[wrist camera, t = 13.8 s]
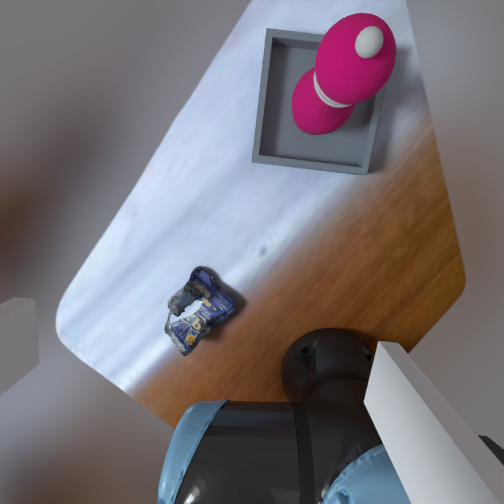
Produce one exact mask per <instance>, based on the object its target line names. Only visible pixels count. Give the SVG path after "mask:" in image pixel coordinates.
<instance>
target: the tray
mask: <svg viewBox="0 0 504 504" xmlns="http://www.w3.org/2000/svg"><path fill="white" fill-rule="evenodd" d="M324 36H325V35H318V34H310V33H302V32H294V31H285V30H277V29H269V28H267V30H266V39H265V48H264V57H263V66H262V75H261V84H260V92H259V101H258V110H257V119H256V128H255V137H254V146H253V155H252V162H254V163H262V164H271V165H279V166H287V167H296V168H304V169H312V170H320V171H329V172H337V173H345V174H354V175H367V172H368V167H369V162H370V157H371V152H372V147H373V142H374V137H375V132H376V127H377V122H378V118H379V113H380V108H381V103H382V98H383V93H384V88H385V84H384V86H383V87H382V88H381V89H380V90H379V91H378V92H377V93H376V94H375V95H374V96H372V97H371V98H369V99H368V100H365V101H363V102H361V103H358V104H355V107H354V110H353V112H352V114H351V116H350V117H349V119H348V120H347V121H346V122H345V123H344V124H343V125H342V126H341V127H340V128H339V129H337V130H335V131H333V132H331V133H327V134H320V135H310V134H307V133H305V132H303V131H302V130H301V129H299V128H298V126H297V125H296V123H295V121H294V119H293V114H292V95H293V91H294V88H295V86H296V84H297V83H298V81H299V80H300V78H301V77H302V76H303V75H304V74H305V73H306V72H307V71H308V70H309V69H311V68H313V67H315V58H316V53H317V50H318V47H319V44H320V43H321V41H322V39H323V37H324Z"/></svg>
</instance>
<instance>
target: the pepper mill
mask: <svg viewBox="0 0 504 504" xmlns="http://www.w3.org/2000/svg"><path fill="white" fill-rule="evenodd" d="M395 58H396V44H395V39H394V36H393V33H392V31H391V29H390V28H389V26H388V25H387V24H386V23H385V21H384V20H382V19H381V18H379V17H378V16H375V15H373V14H367V13H357V14H353V15H349V16H347V17H345V18H343V19H341V20H340V21H338V22H337V23H336V24H334V25H333V26H332V27H331V28H330V29H329V30H328V32H327V33H326V34H325V36H324V37H323V39H322V41H321V43H320V44H319V47H318V50H317V53H316V58H315V67H313V68H311V69H309V70H308V71H307V72H306V73H305V74H304V75H303V76H302V77H301V78H300V80H299V81H298V83H297V84H296V86H295V88H294V91H293V95H292V114H293V119H294V121H295V123H296V125H297V126H298V128H299V129H301V130H302V131H303V132H305V133H307V134H310V135H320V134H327V133H331V132H333V131H335V130H337V129H339V128H340V127H341V126H342V125H343V124H344V123H345V122H346V121H347V120H348V119H349V117H350V116H351V114H352V112H353V110H354V107H355V104H358V103H361V102H363V101H365V100H368V99H369V98H371V97H372V96H374V95H375V94H376V93H377V92H378V91H379V90H380V89H381V88H382V87H383V86H384V84H385V83H386V82H387V80H388V78H389V77H390V75H391V73H392V70H393V67H394V63H395Z"/></svg>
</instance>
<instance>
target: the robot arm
mask: <svg viewBox="0 0 504 504" xmlns="http://www.w3.org/2000/svg"><path fill="white" fill-rule="evenodd" d="M38 364H39V351H38V335H37V319H36V302H35V300H32V299H23V298H13V299H11V300H9V301H7V302H5V303H3V304H0V396H1V395H2V394H3V393H4V392H5V391H7V390H8V389H9V388H10V387H11V386H12V385H14V384H15V383H16V382H17V381H19V380H20V379H21V378H22V377H24V376H25V375H26V374H27V373H28V372H30V371H31V370H32V369H33V368H34V367H36V366H37V365H38ZM281 375H282V383H283V388H284V391H285V393H286V396H287V397H288V399H289V401H290V402H258V401H230V399H224V400H222V401H205V402H198V403H195V404H193V405H192V406H191V407H189V409H188V410H187V411H186V412H185V413H184V415H183V417H182V418H181V420H180V421H179V423H178V425H177V427H176V430H175V432H174V435H173V437H172V440H171V443H170V445H169V448H168V452H167V455H166V458H165V462H164V466H163V470H162V474H161V478H160V483H159V489H158V495H159V499H158V502H157V504H504V449H502V448H501V447H500V446H499V445H497V444H496V443H495V442H493V441H492V440H491V439H490V438H488V437H487V436H480V435H477V434H476V433H475V432H474V431H473V430H472V428H471V427H470V426H469V425H468V424H467V423H466V421H465V420H464V419H463V418H462V417H461V416H460V414H459V413H458V412H457V411H456V410H455V409H454V407H453V406H452V405H451V404H450V403H449V402H448V401H447V399H446V398H445V397H444V396H443V395H442V393H441V392H440V391H439V390H438V389H437V387H436V386H435V385H434V384H433V383H432V382H431V381H430V379H429V378H428V377H427V376H426V375H425V374H424V372H423V371H422V370H421V369H420V368H419V367H418V365H417V364H416V363H415V362H414V361H413V359H412V358H411V357H410V356H409V355H408V354H407V352H406V351H405V350H404V349H403V348H402V347H401V345H400V344H399V343H393V342H384V341H378V345H377V349H376V353H375V357H374V356H373V354H372V352H371V351H370V349H369V348H368V346H367V345H366V344H365V343H364V342H363V341H362V340H361V339H360V338H359V337H357V336H356V335H354V334H352V333H350V332H347V331H344V330H340V329H332V328H328V329H319V330H315V331H312V332H309V333H307V334H305V335H303V336H302V337H300V338H299V339H297V340H296V341H295V342H294V343H293V344H292V345H291V346H290V347H289V349H288V350H287V352H286V354H285V356H284V358H283V361H282V367H281Z"/></svg>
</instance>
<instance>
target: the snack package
mask: <svg viewBox="0 0 504 504" xmlns="http://www.w3.org/2000/svg"><path fill="white" fill-rule="evenodd" d="M211 277H213V276H212V275H211V274H209V273H208V272H206V271H204V270H203V269H202V268H200V267H196V268H195V269H194V270H193V271H192V273H191V276H190V279H189V281H188V282H187V283H186V285H185V286H184V287H183V288H182V289H181V290H179V291H178V292H177V293H176V294H175V295H173V296H172V297H171V298H170V299H169V301H168V307H169V309H170V313H169V315H168V320H167V322H166V325H165V329H164V330H165V332H166V334H168V335H169V336H170V337H171V340H172V341H173V343H174V344H175V345H176V346H177V347H178V348H179V351H180V352H181V354H182V355H183V356H186V355H188V354H189V353H190V352H191V351H192V350H193V349H194V348H195V347H196V346H197V344H198V343H199V342H200V340H201V339H202V338H203V337H204V336H205V335H206V334H207V333H208V332H209V331H210V330H211V329H212V328H213V327H216V326H217V325H218V324H220V323H222V322H223V321H224V320H225V319H226V318H227V317H228V316H229V315H230V314H231V313H232V312H233V311H234V310H235V303H234V301H233V300H232V299H231V298H230V297H229V296H228V295H227V294H226V293H225V292H224V291H223V290H222V289H221V287H220V286H219V285H218V284H217V282H216V281H215V279H214V278H211ZM212 279H213V281H214V283H216V284H217V286H216V285H215V284H213V281H212ZM195 300H200V301H203V303H202V304H201V307H200V309H199V310H198V311H196V312H195V313H194V314H193V315H190V316H188V317H186V318H183V319H179V320H178V321H176V322H174V323H172V324H171V323H170V316H171V315H172V314H174V315H176V316H177V317H178V316H180V315H181V313H182V312H185V310H184V309H185V308H186V307H187V306H188V305H189V306H190V305H191V304H192V303H193V302H194V301H195ZM169 325H171V330H170V329H169Z"/></svg>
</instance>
